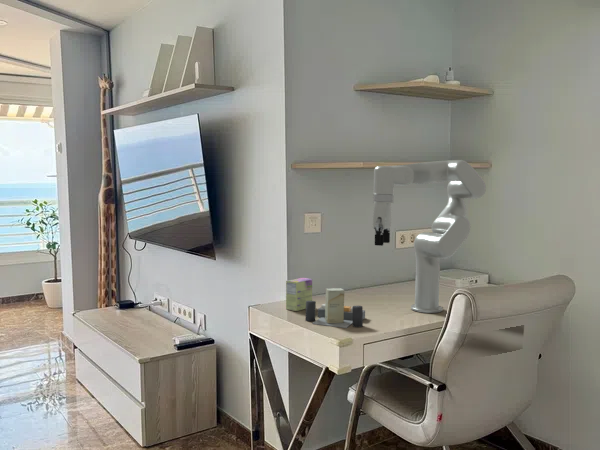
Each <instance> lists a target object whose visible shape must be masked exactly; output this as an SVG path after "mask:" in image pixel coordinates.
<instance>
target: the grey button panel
mask: <svg viewBox="0 0 600 450" xmlns="http://www.w3.org/2000/svg"><path fill="white" fill-rule="evenodd" d="M317 317H318V319H315V321H312V325H317V326H326V327H336V328H343V329H347V328H349V327H350V326H351V325H353V311H352V306H349V305H348V306H347V305H344V322H343V323H327V322H326V321H325V303H322V304H321V306H320V307H319V308H318V309H317ZM365 319H366V309H363V320H365Z"/></svg>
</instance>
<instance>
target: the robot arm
mask: <svg viewBox="0 0 600 450" xmlns="http://www.w3.org/2000/svg"><path fill="white" fill-rule="evenodd" d="M444 182H448V184H447V188H446V191H447V202H446V203H447V204H446V205H445V206H444V208H443V209H442V210H441V212H440V213H439V215H438V216H437V217H435V219H434V220H433V222H432V223H431V228H430V229H431V231H432V232H429V231H427V232H426V231H424V232H420V233H419V234H417V235H416V237H414V241H413V248H414V254H415V282H414V287H415V288H414V303H413V304H411V305H410V309H411V310H412V311H414V312H418V313H424V314H437V313H442V312H443V306H441V305H440V303H439V301H440V275H441V272H440V271H441V265H440V262H439V259H443V260H444V259H445V260H447V259H450V258H451V257H453V255H455V253H457V251H458V249H460V247H462V245H463V244H464V242H465V241H466V239H467V238H468V236H469V235H470V233H471V223H470V220H469V219H468V218H467V217H465V216H466V214H467V208H466V203H465V199H472V200H474V199H476V200H477V199H480V198H482V197H484V195H485V194H486V190H487V186H486V183H485V180H484V179H483V178H482V176H481V175H479V173H478V172H477V170H476V169H475V168H473V166H472V165H471V164H469V163H468V161H466V160H463V159H454V160H453V159H450V160H449V159H448V160H438V161H436V160H435V161H425V162H415V163H409V164H397V165H380V166H379V165H378V166H376V167H375V168H374V169H373V194H372V195H373V197H372V198H373V201H372V203H374V206H373V216H372V228H373V229H374V246H380V247H381V246H382V247H383V246H384V244H390V241H391V237H390V235H391V232H390V231H391V229H390V227H391V224H392V204H394V195H395V193H394V192H395V191H394V190H395V186H397V187H399V186H400V187H401V186H402V187H403V186H409V185H410V184H417V185H420V184H421V185H423V184H425V185H426V184H433V183H435V184H436V183H444Z"/></svg>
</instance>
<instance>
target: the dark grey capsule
mask: <svg viewBox="0 0 600 450" xmlns="http://www.w3.org/2000/svg"><path fill="white" fill-rule="evenodd" d="M351 308H352V311H353V323H352V327H353V328H362V327H363V325H364V324H363V323H364V319H363V310H364V307H363V306H362V305H353V306H351Z"/></svg>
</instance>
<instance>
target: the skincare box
mask: <svg viewBox="0 0 600 450" xmlns="http://www.w3.org/2000/svg"><path fill="white" fill-rule="evenodd" d="M324 300H325V303H324V304H325V321H326V322H327V323H343V322H344V306H345V289H343V288H341V287H339V288H337V287H334V288H333V287H331V288H325V299H324Z"/></svg>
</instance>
